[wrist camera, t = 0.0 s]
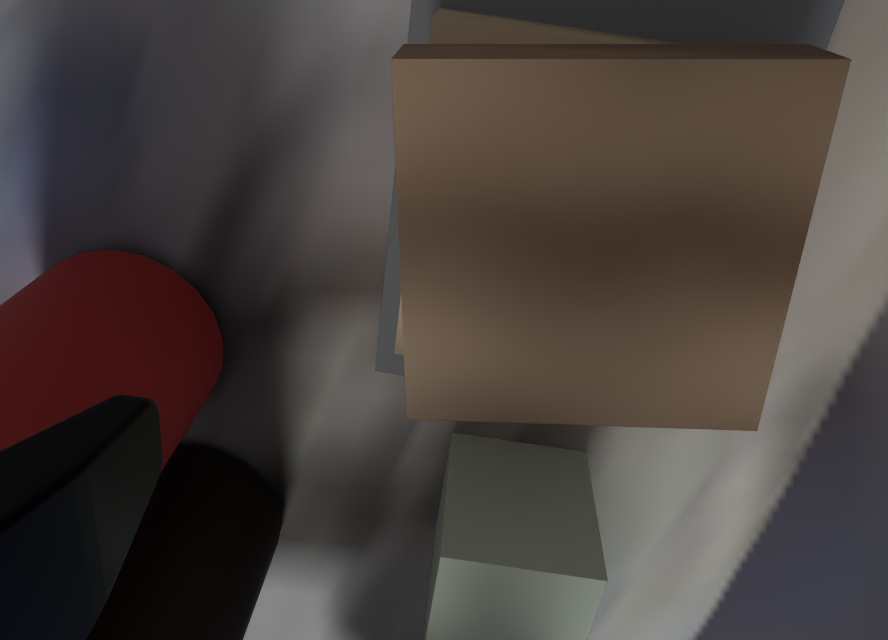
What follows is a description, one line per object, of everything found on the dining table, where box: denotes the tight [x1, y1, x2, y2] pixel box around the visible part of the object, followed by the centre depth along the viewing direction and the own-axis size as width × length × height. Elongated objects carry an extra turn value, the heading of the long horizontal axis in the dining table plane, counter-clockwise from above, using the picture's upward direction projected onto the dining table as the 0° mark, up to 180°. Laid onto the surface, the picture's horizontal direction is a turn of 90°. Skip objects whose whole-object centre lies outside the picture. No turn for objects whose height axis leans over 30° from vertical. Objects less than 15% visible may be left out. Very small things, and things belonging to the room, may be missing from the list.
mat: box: [375, 0, 844, 375], centre depth 21 cm, size 14×11×1 cm
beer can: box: [0, 249, 223, 473], centre depth 20 cm, size 7×7×12 cm
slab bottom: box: [394, 8, 680, 355], centre depth 20 cm, size 10×10×2 cm
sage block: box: [424, 432, 608, 640], centre depth 25 cm, size 5×5×6 cm
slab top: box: [391, 44, 851, 431], centre depth 18 cm, size 10×10×2 cm
